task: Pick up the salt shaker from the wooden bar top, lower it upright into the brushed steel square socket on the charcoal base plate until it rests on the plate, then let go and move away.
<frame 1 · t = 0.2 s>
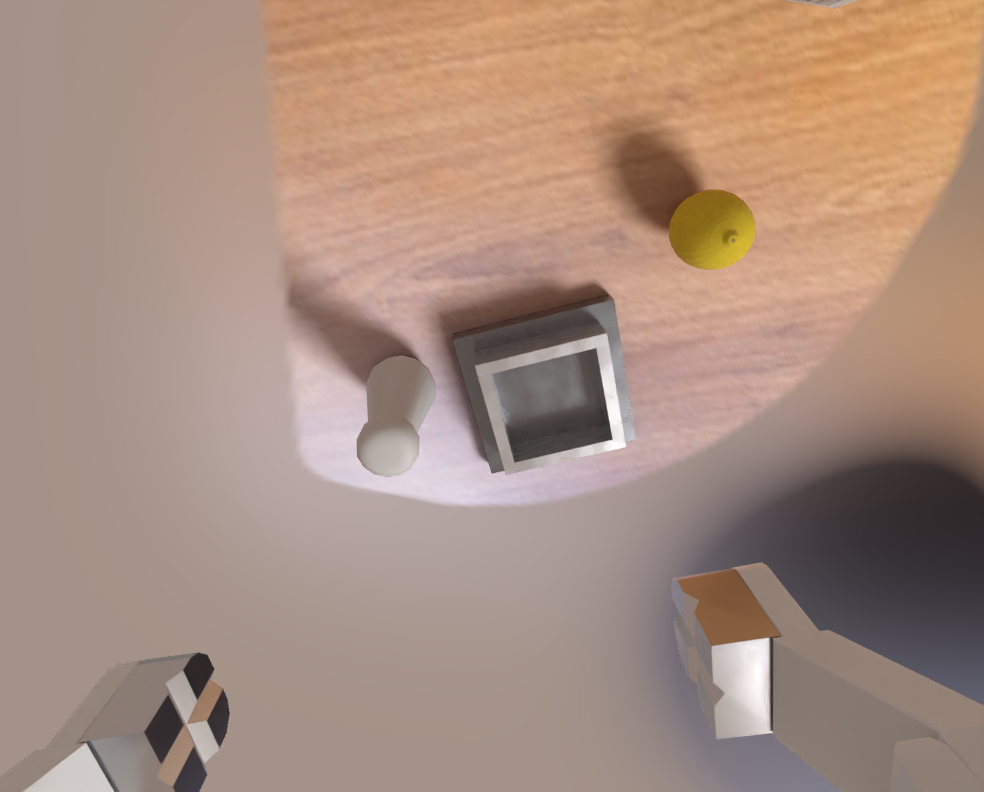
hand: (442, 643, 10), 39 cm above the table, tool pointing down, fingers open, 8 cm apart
salt shaker: (404, 376, 50), on the table
socket block: (546, 385, 50), on the table
lemon: (689, 221, 45), on the table
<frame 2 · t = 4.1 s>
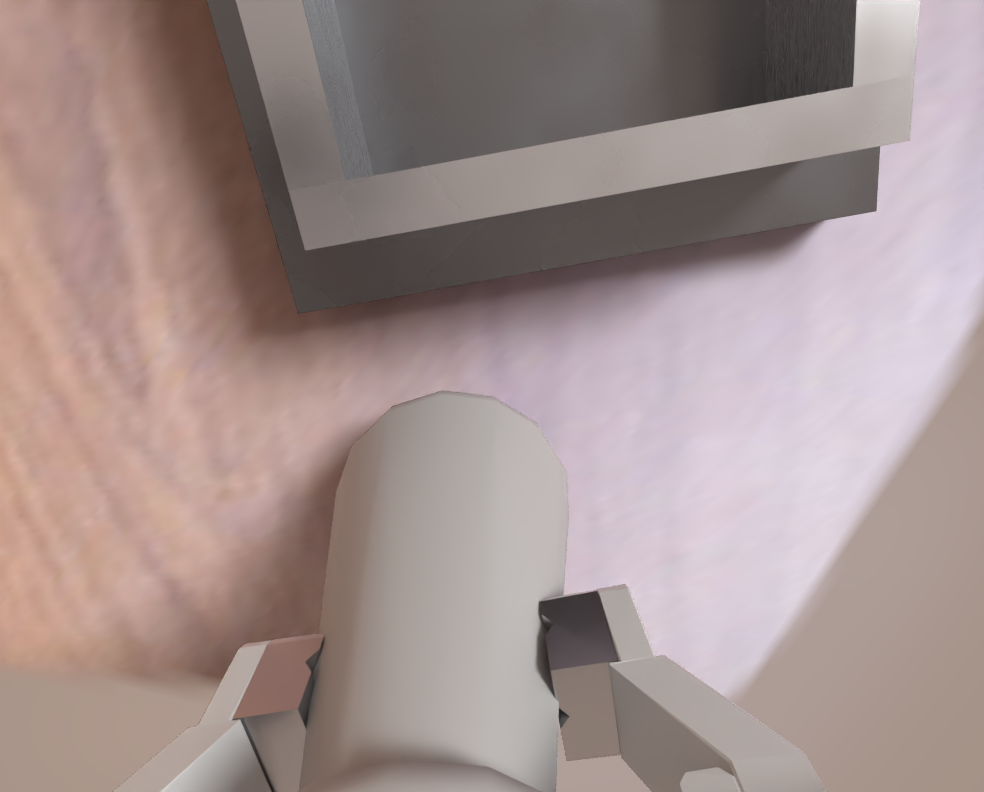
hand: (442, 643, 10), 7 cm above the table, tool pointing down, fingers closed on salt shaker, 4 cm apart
salt shaker: (458, 457, 17), on the table, touching gripper
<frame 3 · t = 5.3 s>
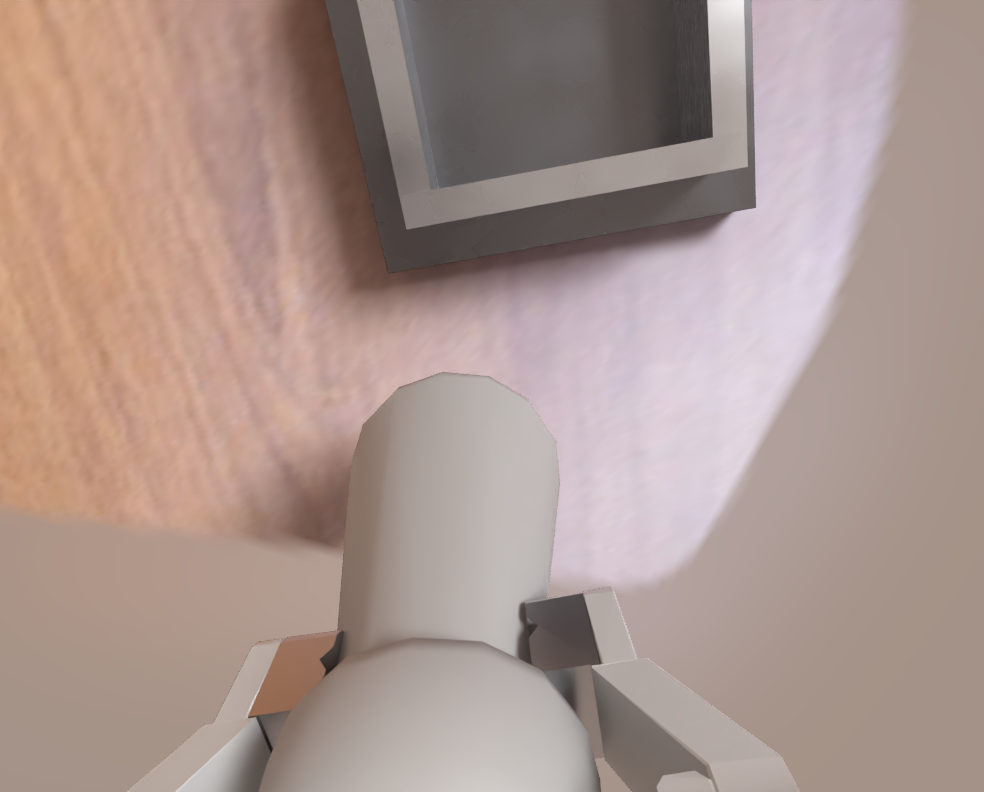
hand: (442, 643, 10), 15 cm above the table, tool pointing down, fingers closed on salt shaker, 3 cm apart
salt shaker: (459, 436, 18), point 6 cm above the table, touching gripper
socket block: (538, 42, 20), on the table
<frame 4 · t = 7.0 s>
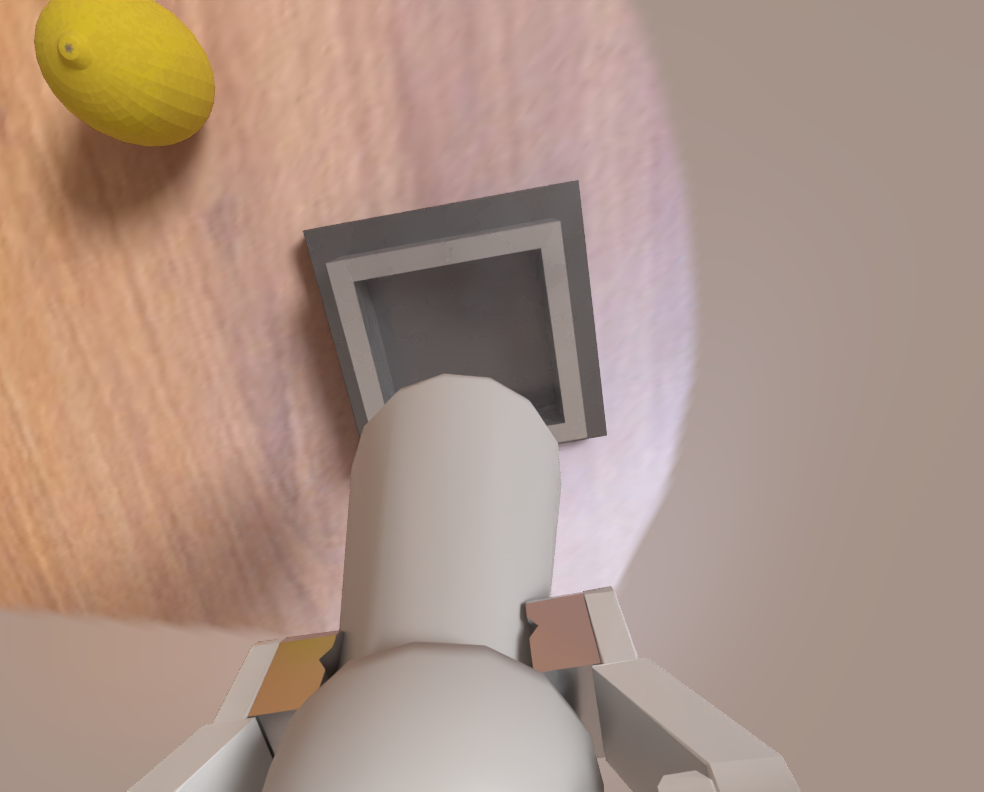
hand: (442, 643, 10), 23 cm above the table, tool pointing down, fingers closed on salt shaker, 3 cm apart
salt shaker: (460, 437, 18), point 14 cm above the table, touching gripper
socket block: (466, 333, 31), on the table
lemon: (184, 89, 27), on the table
when the fingers open (10 cm above the table, at t = 8.8 s): salt shaker stays where it is, resting on socket block.
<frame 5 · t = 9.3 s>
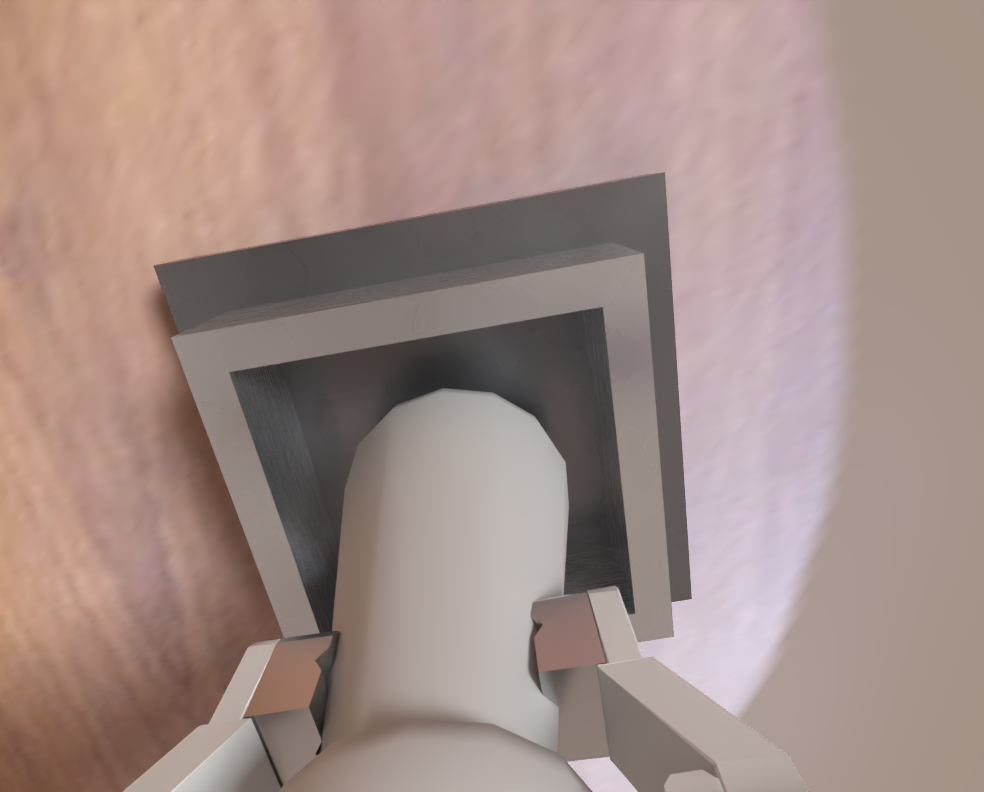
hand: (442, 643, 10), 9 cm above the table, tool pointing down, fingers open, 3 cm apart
salt shaker: (461, 453, 17), point 1 cm above the table, touching gripper, socket block
socket block: (456, 432, 18), on the table
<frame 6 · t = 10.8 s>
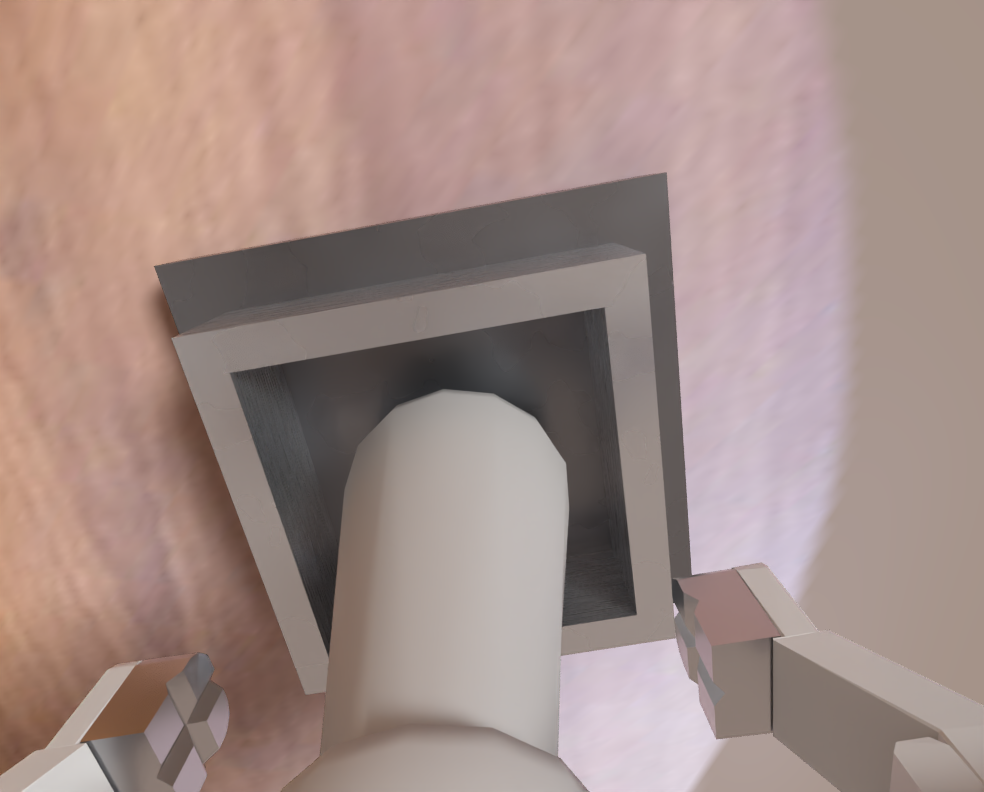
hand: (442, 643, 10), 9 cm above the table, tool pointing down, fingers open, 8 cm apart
salt shaker: (461, 454, 17), point 1 cm above the table, touching socket block
socket block: (457, 433, 18), on the table
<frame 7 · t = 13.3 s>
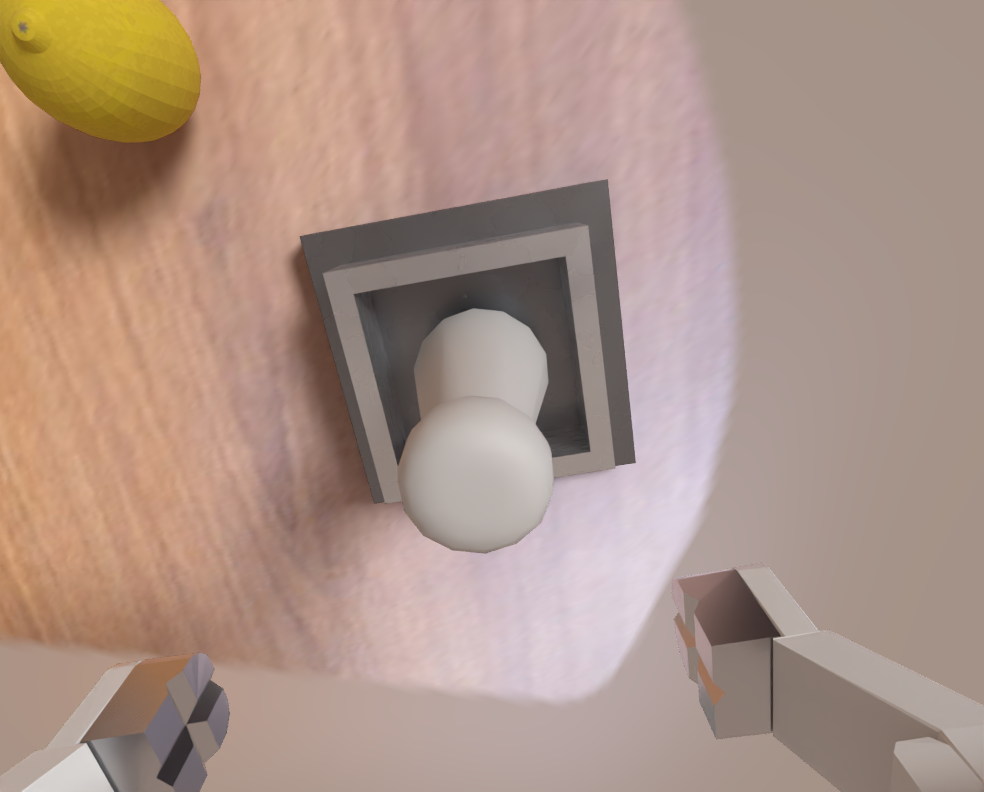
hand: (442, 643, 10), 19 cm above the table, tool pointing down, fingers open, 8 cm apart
salt shaker: (482, 358, 27), point 1 cm above the table, touching socket block
socket block: (480, 349, 28), on the table
lemon: (170, 80, 24), on the table
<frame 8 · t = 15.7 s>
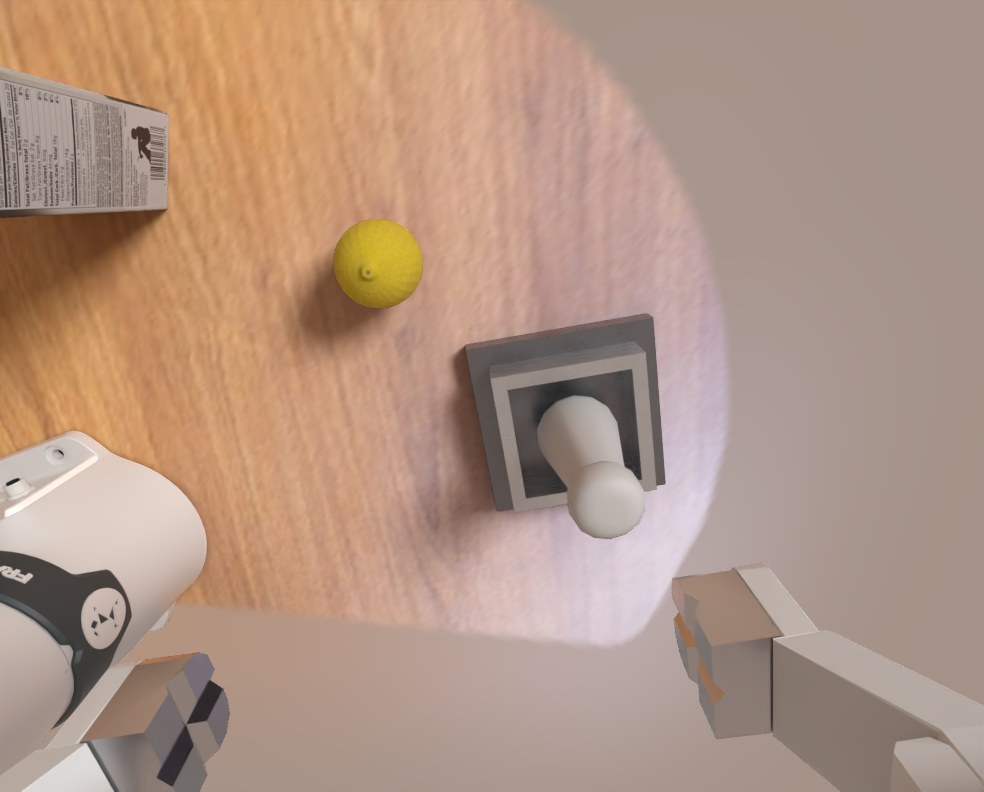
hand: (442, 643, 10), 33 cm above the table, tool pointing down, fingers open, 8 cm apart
salt shaker: (571, 420, 43), point 1 cm above the table, touching socket block
socket block: (567, 413, 44), on the table
coffee box: (102, 149, 37), on the table
lemon: (389, 256, 40), on the table
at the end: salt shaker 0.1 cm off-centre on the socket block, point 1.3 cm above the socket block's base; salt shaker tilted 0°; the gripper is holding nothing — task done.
